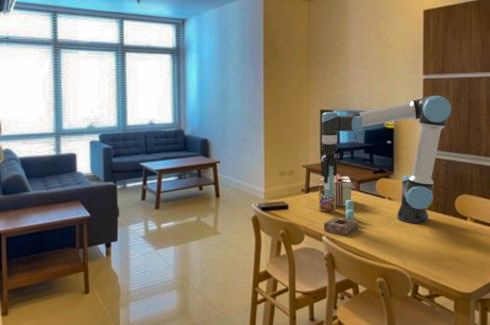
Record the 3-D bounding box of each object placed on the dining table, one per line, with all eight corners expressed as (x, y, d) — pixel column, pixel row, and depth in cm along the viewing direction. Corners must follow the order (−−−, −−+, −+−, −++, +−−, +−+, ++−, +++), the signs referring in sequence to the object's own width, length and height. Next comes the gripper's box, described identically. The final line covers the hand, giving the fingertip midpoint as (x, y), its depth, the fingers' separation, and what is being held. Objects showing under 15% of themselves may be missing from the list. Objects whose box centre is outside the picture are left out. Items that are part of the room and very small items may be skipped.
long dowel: (334, 194, 215) (334, 166, 213) (330, 196, 212) (330, 167, 210) (327, 193, 218) (327, 165, 215) (323, 195, 215) (323, 166, 212)
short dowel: (355, 223, 215) (355, 210, 214) (351, 225, 212) (351, 212, 211) (348, 222, 218) (348, 209, 216) (344, 224, 215) (344, 210, 213)
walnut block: (357, 229, 206) (358, 221, 206) (346, 235, 198) (346, 227, 197) (336, 224, 214) (336, 216, 214) (324, 230, 206) (324, 222, 205)
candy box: (318, 211, 238) (318, 185, 236) (321, 209, 242) (321, 183, 239) (333, 212, 234) (334, 186, 231) (336, 210, 238) (336, 184, 235)
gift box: (318, 200, 262) (318, 173, 259) (347, 199, 261) (348, 172, 258) (322, 207, 245) (322, 179, 242) (353, 207, 244) (354, 178, 241)
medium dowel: (354, 218, 223) (354, 200, 221) (351, 220, 220) (351, 202, 218) (347, 217, 225) (348, 199, 224) (344, 219, 222) (344, 201, 221)
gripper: (331, 140, 219) (331, 184, 223) (313, 144, 207) (313, 190, 211) (344, 141, 214) (344, 186, 218) (326, 145, 202) (326, 192, 206)
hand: (329, 188), depth 214 cm, fingers closed on long dowel, 4 cm apart
